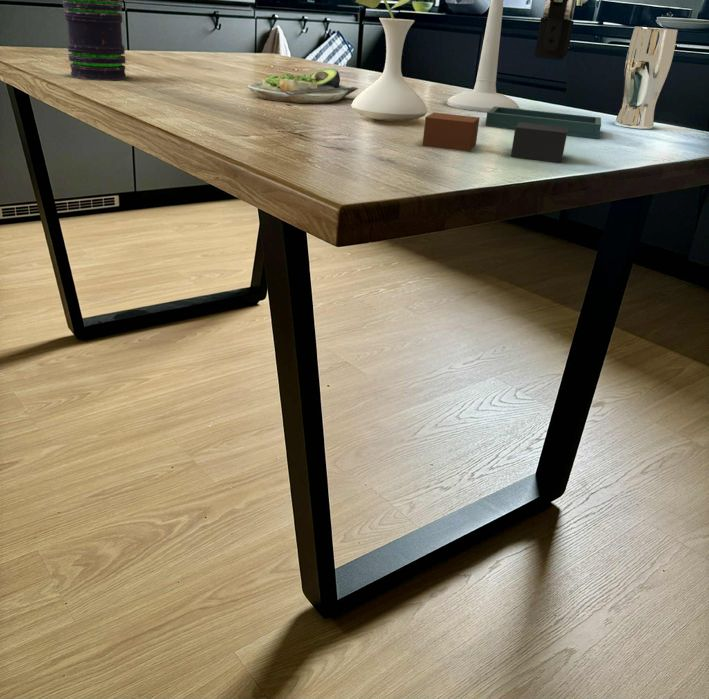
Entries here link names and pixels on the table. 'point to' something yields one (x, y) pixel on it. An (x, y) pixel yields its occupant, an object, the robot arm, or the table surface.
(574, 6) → the robot arm
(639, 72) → the beer glass
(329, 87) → the salad plate
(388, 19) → the flower in vase
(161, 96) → the table surface
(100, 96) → the table surface
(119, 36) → the storage jar
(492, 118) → the frame
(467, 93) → the candlestick
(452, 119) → the pad
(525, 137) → the pad
